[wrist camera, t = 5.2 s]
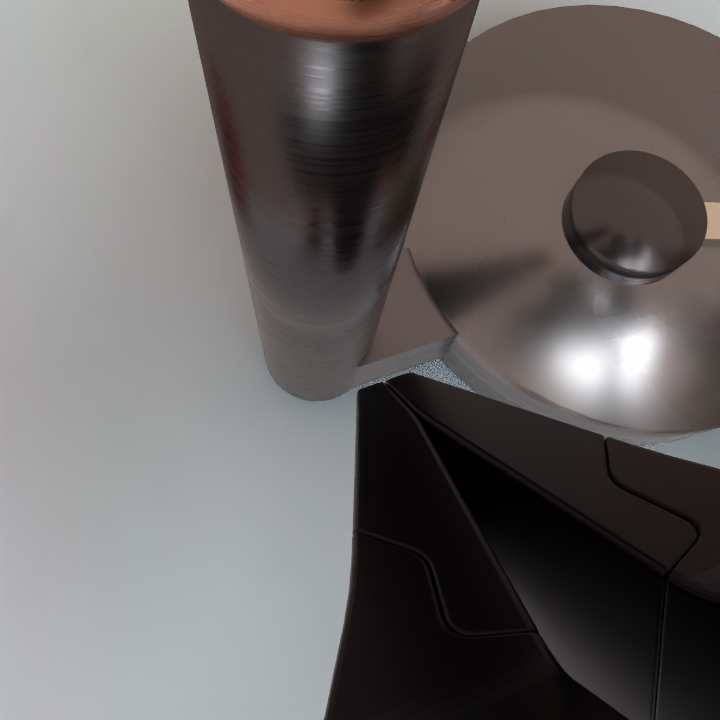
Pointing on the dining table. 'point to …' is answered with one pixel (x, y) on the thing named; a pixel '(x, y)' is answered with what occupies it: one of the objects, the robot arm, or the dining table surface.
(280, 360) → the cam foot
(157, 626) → the dining table surface
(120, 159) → the dining table surface
